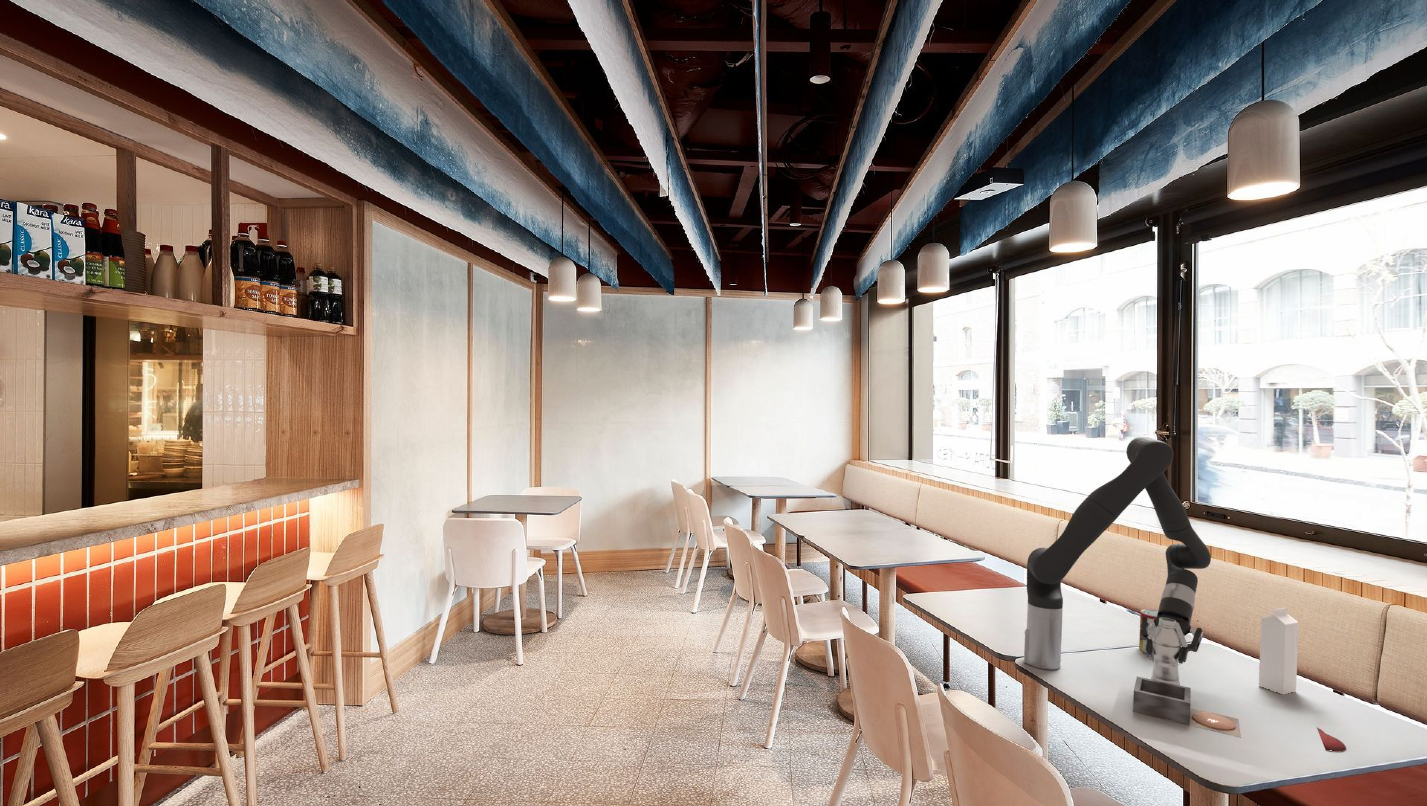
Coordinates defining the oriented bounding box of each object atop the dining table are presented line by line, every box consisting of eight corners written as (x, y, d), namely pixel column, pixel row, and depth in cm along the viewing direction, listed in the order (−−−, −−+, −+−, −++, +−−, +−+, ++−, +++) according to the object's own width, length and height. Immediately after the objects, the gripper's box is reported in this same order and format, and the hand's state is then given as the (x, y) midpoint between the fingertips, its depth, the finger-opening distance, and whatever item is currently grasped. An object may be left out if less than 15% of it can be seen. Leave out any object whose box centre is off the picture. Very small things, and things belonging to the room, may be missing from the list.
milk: (1296, 692, 190) (1300, 610, 190) (1282, 695, 188) (1286, 612, 188) (1270, 683, 196) (1274, 604, 196) (1257, 686, 194) (1261, 606, 193)
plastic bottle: (1184, 702, 181) (1187, 624, 181) (1155, 699, 182) (1158, 622, 182) (1173, 692, 187) (1176, 617, 187) (1145, 689, 188) (1148, 615, 188)
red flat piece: (1282, 753, 156) (1282, 744, 156) (1235, 724, 170) (1235, 716, 170) (1360, 755, 157) (1360, 746, 157) (1307, 726, 170) (1307, 718, 170)
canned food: (1168, 650, 220) (1170, 612, 220) (1169, 658, 214) (1170, 618, 213) (1139, 645, 224) (1140, 607, 224) (1138, 652, 218) (1140, 613, 218)
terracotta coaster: (1191, 723, 165) (1191, 721, 165) (1191, 710, 172) (1191, 709, 172) (1236, 733, 161) (1236, 731, 161) (1234, 720, 168) (1234, 718, 168)
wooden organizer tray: (1132, 717, 170) (1133, 691, 170) (1135, 701, 180) (1136, 676, 180) (1240, 744, 159) (1242, 715, 159) (1238, 725, 169) (1239, 697, 169)
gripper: (1144, 590, 195) (1131, 643, 186) (1207, 602, 185) (1196, 658, 176) (1148, 606, 199) (1135, 658, 190) (1210, 618, 188) (1199, 674, 180)
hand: (1164, 658), depth 183 cm, fingers closed on plastic bottle, 6 cm apart
